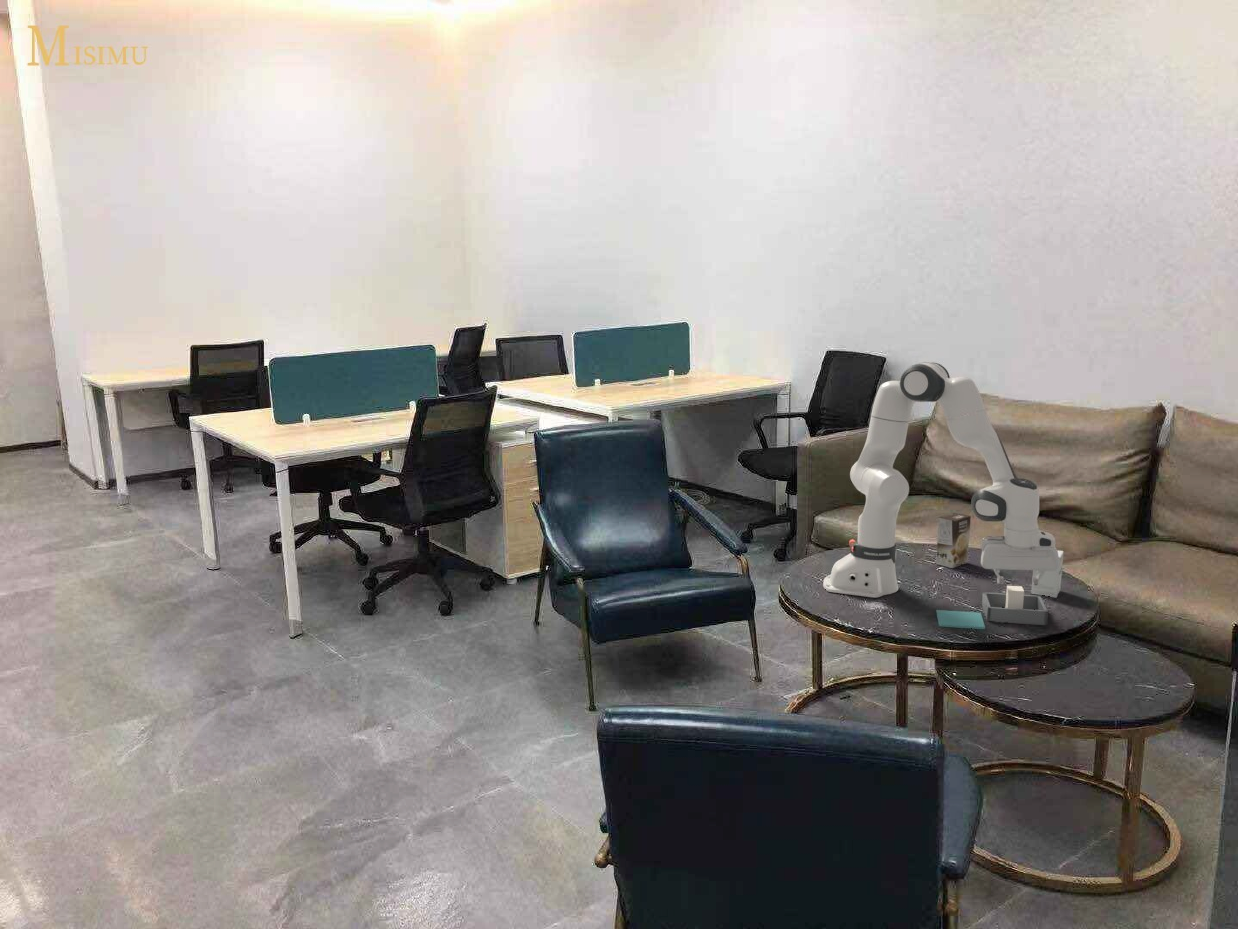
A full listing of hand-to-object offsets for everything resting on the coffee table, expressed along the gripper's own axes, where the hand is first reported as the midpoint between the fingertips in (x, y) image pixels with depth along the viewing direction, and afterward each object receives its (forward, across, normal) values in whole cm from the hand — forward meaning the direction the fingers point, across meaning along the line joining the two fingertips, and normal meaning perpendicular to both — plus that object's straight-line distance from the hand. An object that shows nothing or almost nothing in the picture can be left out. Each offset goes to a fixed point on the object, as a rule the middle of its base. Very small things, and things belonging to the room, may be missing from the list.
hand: (1018, 583), depth 278 cm
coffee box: (+10, -13, +44) cm, 47 cm away
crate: (+9, -1, -1) cm, 9 cm away
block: (+9, -1, -1) cm, 9 cm away
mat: (+9, -16, -7) cm, 20 cm away
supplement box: (+10, +11, +20) cm, 25 cm away
